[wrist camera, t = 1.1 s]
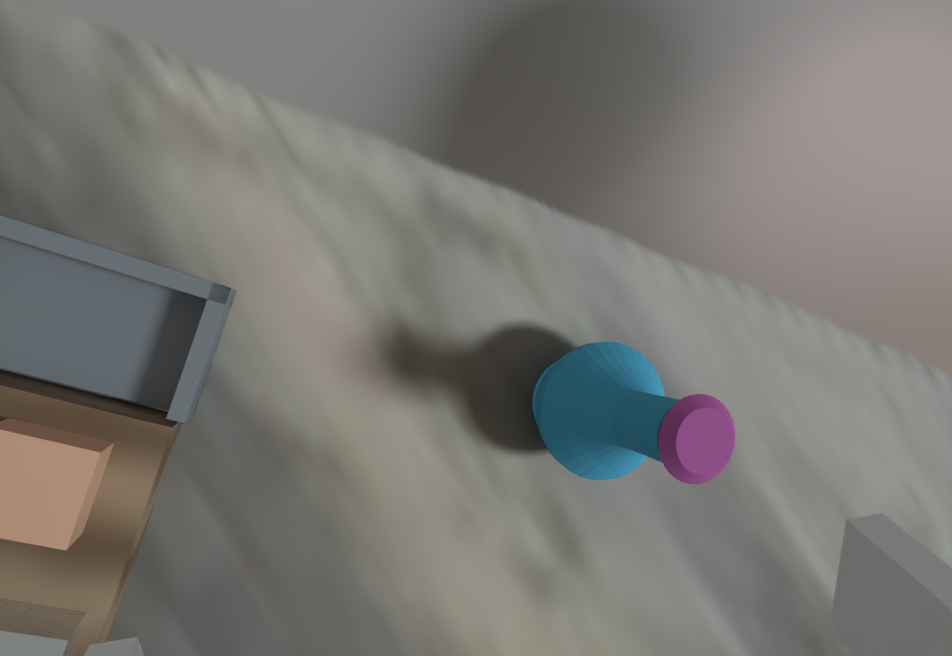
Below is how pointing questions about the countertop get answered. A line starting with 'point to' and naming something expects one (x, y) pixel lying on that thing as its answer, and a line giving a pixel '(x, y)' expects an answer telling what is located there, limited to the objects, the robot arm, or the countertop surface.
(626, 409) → the perfume bottle
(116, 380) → the tray
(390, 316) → the countertop surface
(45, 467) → the tile
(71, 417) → the board
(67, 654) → the grey bar
